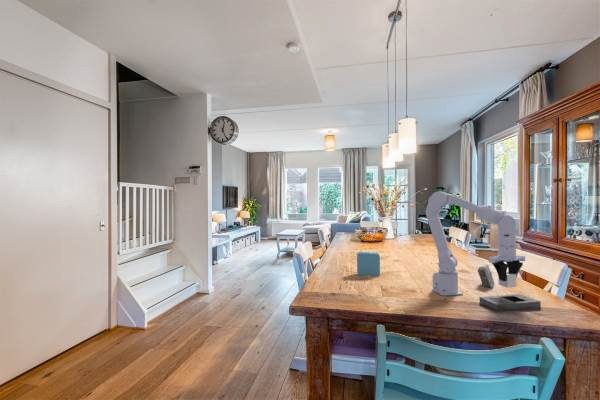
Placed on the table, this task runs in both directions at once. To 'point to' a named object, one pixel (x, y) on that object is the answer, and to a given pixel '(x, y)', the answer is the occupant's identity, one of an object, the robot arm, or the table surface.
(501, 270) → the robot arm
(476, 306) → the table surface
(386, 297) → the table surface
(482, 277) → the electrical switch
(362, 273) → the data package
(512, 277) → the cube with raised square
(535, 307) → the dark grey flat block
